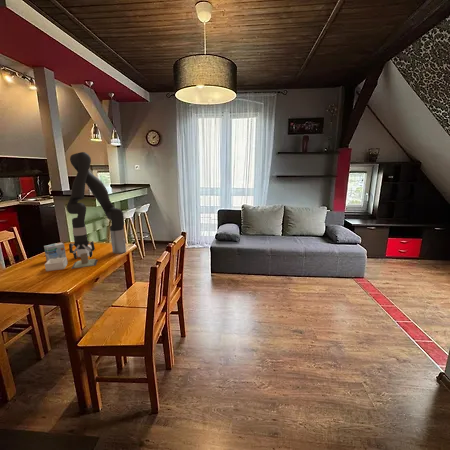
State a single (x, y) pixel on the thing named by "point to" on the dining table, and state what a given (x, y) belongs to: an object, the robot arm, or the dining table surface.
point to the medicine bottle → (83, 251)
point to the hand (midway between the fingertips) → (83, 257)
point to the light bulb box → (55, 251)
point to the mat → (86, 266)
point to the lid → (84, 261)
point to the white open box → (56, 264)
